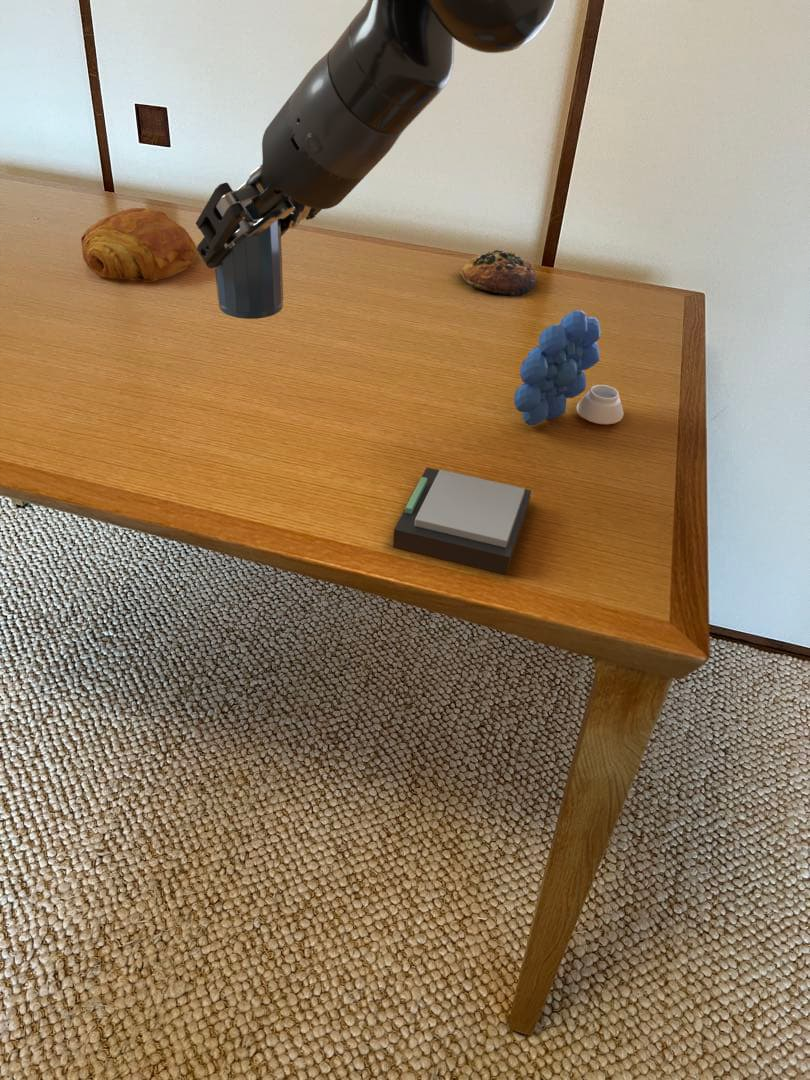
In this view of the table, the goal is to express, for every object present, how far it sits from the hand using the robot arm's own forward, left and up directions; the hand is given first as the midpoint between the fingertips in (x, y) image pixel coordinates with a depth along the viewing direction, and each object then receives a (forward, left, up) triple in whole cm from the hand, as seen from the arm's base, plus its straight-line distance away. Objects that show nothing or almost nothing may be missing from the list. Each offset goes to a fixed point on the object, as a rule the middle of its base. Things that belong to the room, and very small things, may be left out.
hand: (233, 248), depth 72 cm
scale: (+14, -22, -18) cm, 32 cm away
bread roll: (+44, +28, -18) cm, 55 cm away
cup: (+1, -1, -5) cm, 5 cm away
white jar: (+37, -9, -18) cm, 42 cm away
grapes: (+31, -7, -18) cm, 37 cm away
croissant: (-3, +46, -18) cm, 49 cm away
